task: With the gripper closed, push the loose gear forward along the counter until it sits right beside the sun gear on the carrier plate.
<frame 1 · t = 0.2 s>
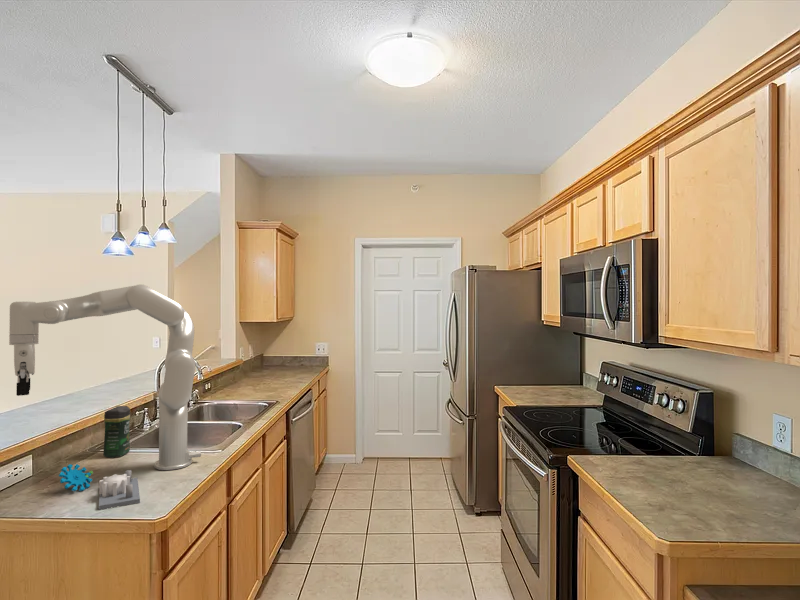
hand: (23, 392, 159), 30 cm above the counter, tool pointing down, fingers open, 9 cm apart
coffee jar: (117, 455, 193), on the counter
carrier plate: (119, 494, 154), on the counter
gear: (77, 489, 158), on the counter
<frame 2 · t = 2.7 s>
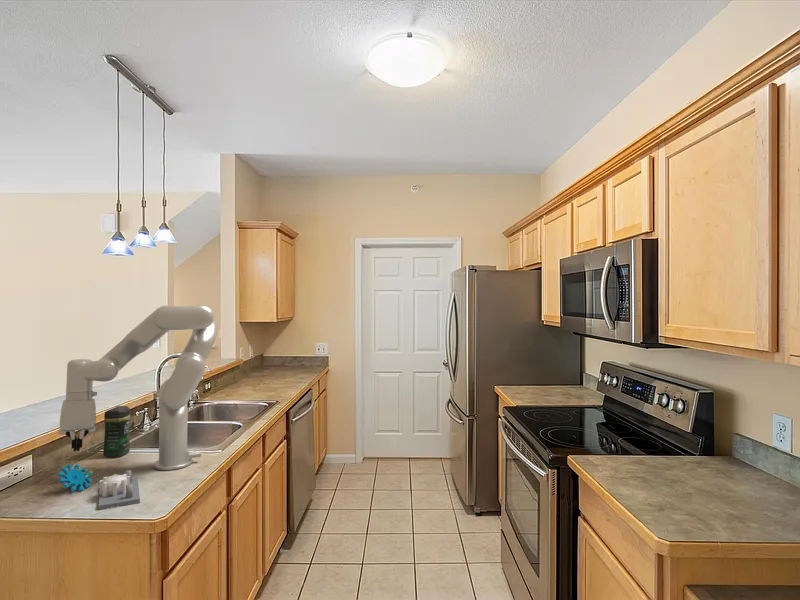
hand: (76, 450, 167), 10 cm above the counter, tool pointing down, fingers closed
nothing on the counter moved.
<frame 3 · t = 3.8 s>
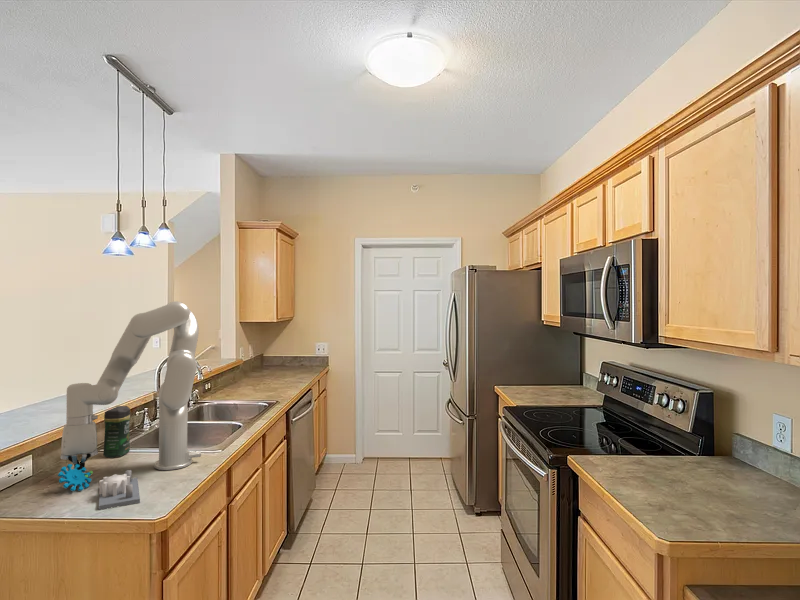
hand: (79, 474, 168), 1 cm above the counter, tool pointing down, fingers closed
nothing on the counter moved.
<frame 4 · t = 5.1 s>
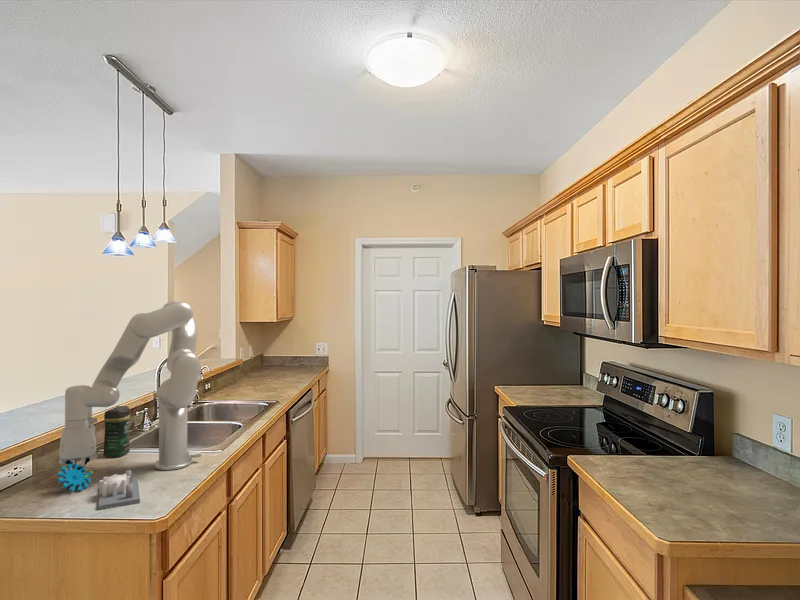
hand: (78, 478, 163), 1 cm above the counter, tool pointing down, fingers closed
gear: (76, 489, 158), on the counter, touching gripper
everything else where it was.
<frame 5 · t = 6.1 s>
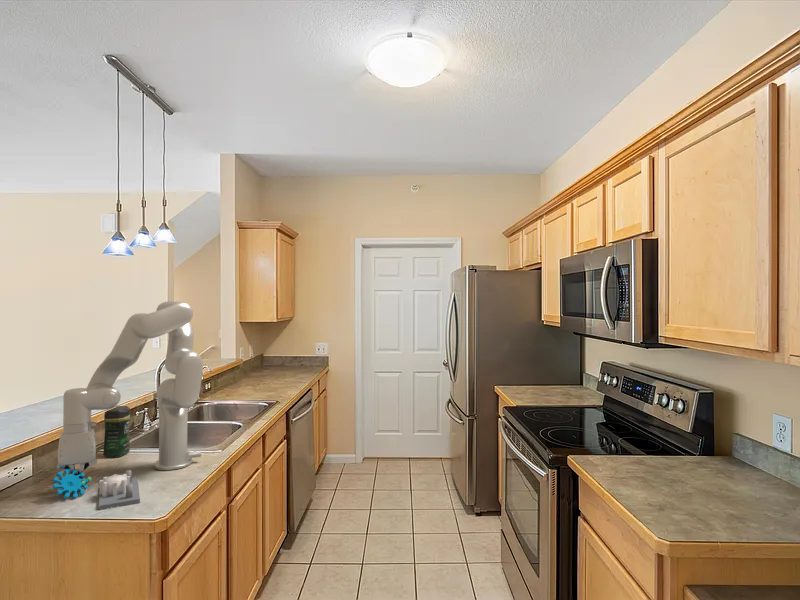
hand: (77, 484, 158), 1 cm above the counter, tool pointing down, fingers closed
gear: (72, 495, 153), on the counter, touching gripper
everything else where it was.
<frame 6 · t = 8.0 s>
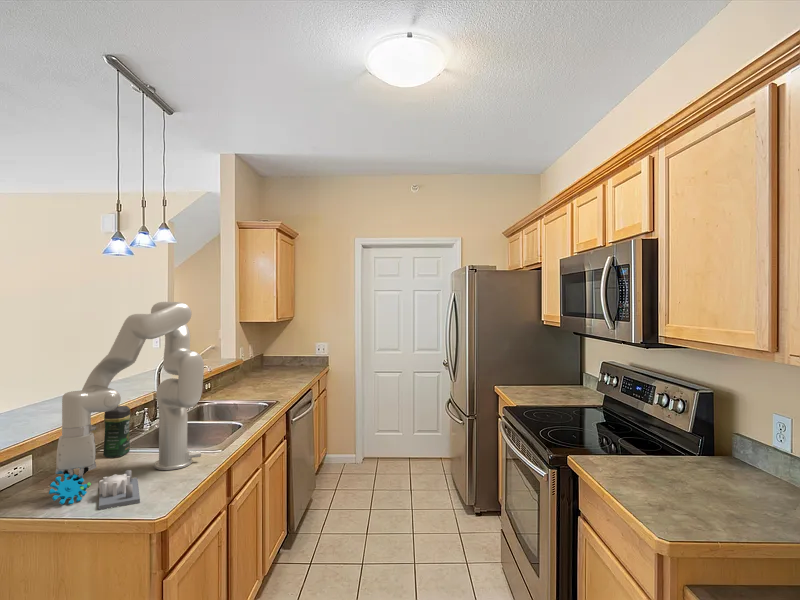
hand: (76, 489, 154), 1 cm above the counter, tool pointing down, fingers closed
gear: (70, 501, 149), on the counter, touching gripper
everything else where it was.
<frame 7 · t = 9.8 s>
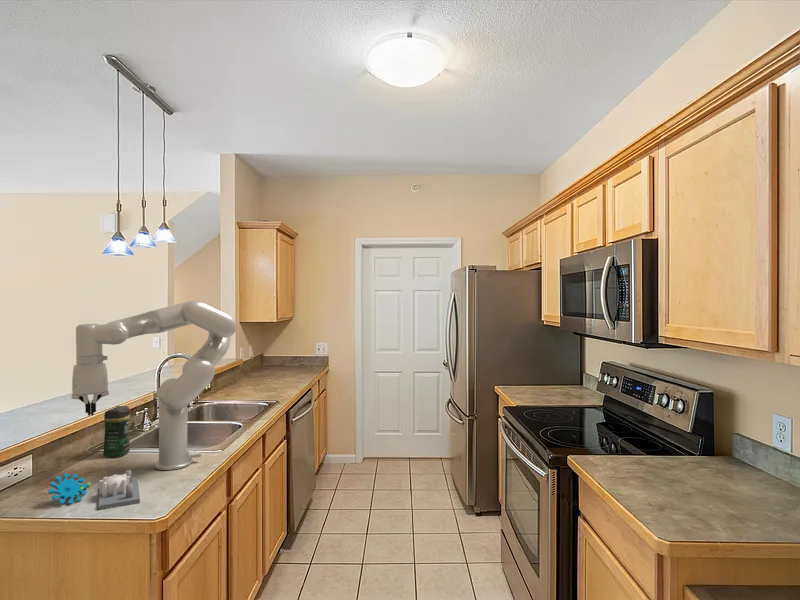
hand: (90, 414, 167), 22 cm above the counter, tool pointing down, fingers closed
gear: (70, 501, 149), on the counter
everything else where it was.
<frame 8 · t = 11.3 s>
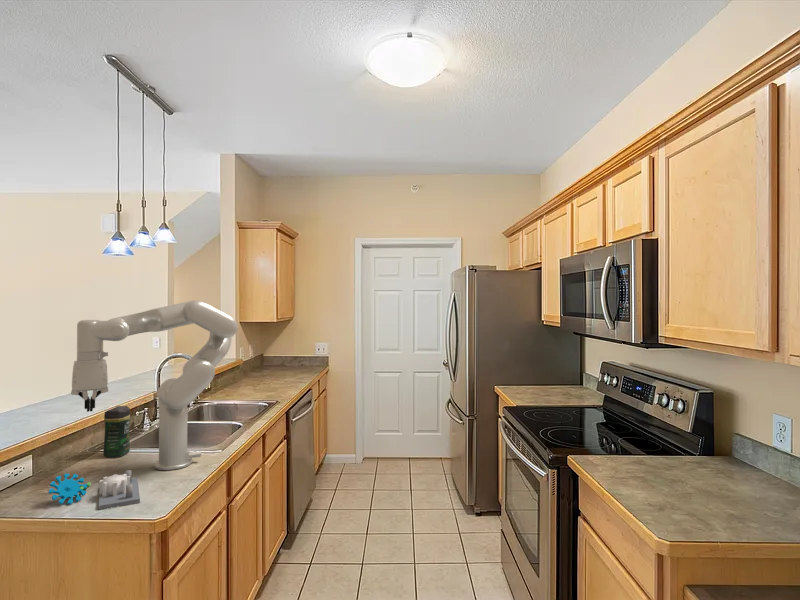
hand: (89, 410, 167), 23 cm above the counter, tool pointing down, fingers closed
nothing on the counter moved.
at the end: gear inside the target area on the counter beside the carrier plate (2.3 cm from its centre), on the counter; gear tilted 0° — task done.
